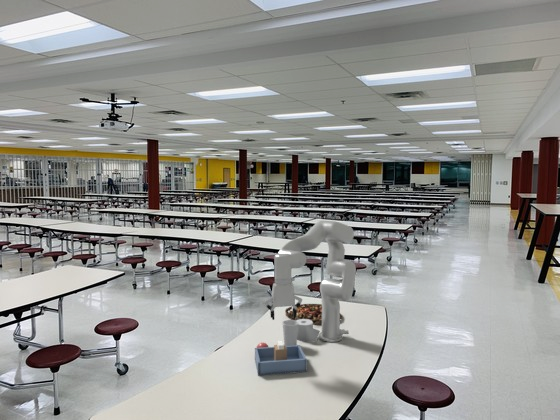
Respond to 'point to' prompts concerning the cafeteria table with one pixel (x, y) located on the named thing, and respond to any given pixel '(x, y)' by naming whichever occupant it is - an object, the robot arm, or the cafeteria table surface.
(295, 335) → the cup
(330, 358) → the cafeteria table surface
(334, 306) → the robot arm
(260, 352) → the tub
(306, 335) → the toilet tissue
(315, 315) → the food dish
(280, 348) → the brown and white block
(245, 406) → the cafeteria table surface
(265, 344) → the red glossy sphere
